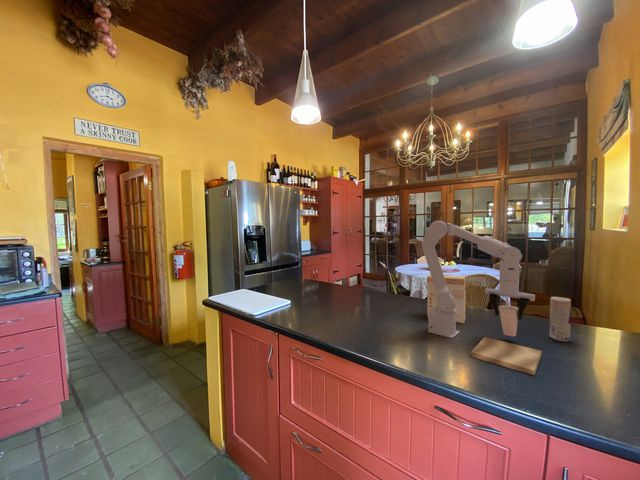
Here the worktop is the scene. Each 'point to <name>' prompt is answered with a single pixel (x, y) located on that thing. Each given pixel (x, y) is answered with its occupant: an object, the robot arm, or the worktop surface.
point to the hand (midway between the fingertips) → (508, 316)
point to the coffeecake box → (455, 288)
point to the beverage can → (560, 318)
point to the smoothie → (509, 319)
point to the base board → (508, 355)
